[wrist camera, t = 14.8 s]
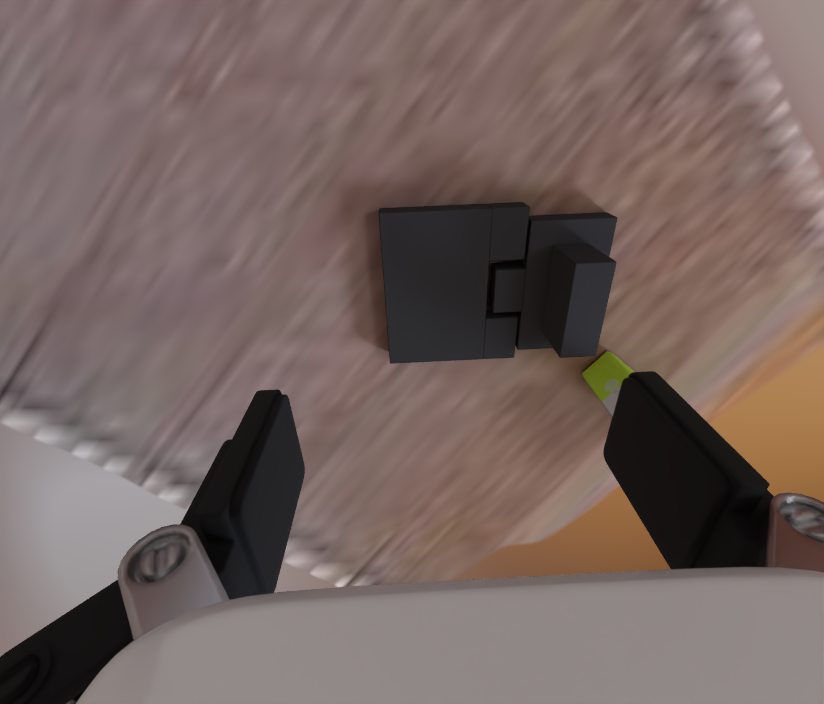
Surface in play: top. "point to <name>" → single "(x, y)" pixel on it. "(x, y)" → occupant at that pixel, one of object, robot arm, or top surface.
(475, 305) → the base pad
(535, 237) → the pad
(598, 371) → the box
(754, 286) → the top surface
